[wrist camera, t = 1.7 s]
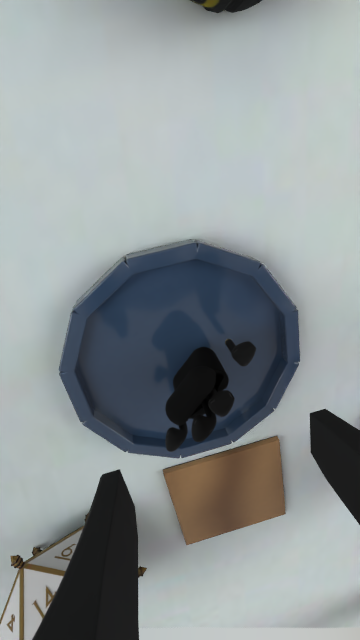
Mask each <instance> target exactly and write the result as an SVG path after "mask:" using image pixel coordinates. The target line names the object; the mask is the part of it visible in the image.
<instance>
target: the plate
mask: <svg viewBox="0 0 360 640" xmlns="http://www.w3.org/2000/svg"><path fill="white" fill-rule="evenodd" d="M227 339H231V340H232V341H233V342H234V344H235V345H236V346H237V345H238V344H240V343H242V342H247V341H250V342H251V343H252V344H253V345H254V346H255V347H256V352H255V355H254V357H253V359H252V360H251V361H250V363H249V364H248V365H247V366H244V367H243V366H240V365H239V364H238V363H237V362H236V361H235V360H234V359H233V357H232V355H231V352H230V351H229V349H228V348H227V346H226V344H225V341H226V340H227ZM200 347H207V348H210V349H211V350H213V351H214V352H215V354H216V355H217V357H218V359H219V361H220V363H221V364H222V366H223V368H224V370H225V372H226V373H227V375H228V378H229V383H228V386H227V388H226V389H224V390H228V391H230V392H231V393H232V395H233V396H234V403H233V406H232V408H231V410H230V412H229V413H228V414H227V415H226V416H224V417H220V416H218V415H216V419H217V422H216V426H215V428H214V430H213V431H212V433H211V434H210V435H209V436H208V437H207V438H206V439H205V440H204V441H202V442H195V441H194V440H193V437H192V432H191V428H192V422H193V419H188V421H187V422H186V424H187V428H188V434H187V437H186V439H185V441H184V442H183V443H182V444H181V445H180V447H179V448H178V449H176V450H175V451H173V452H169V451H168V450H167V449H166V444H165V439H166V433H167V430H168V429H169V428H171V427H174V428H177V429H179V426H178V425H176V424H174V423H173V422H171V421H170V420H169V418H168V417H167V415H166V410H165V407H166V402H167V400H168V399H169V397H170V396H171V395H172V393H173V392H174V391H175V390H174V387H173V379H174V376H175V375H176V373H177V372H178V371H179V369H180V368H181V367H182V366H183V364H184V363H185V362H186V360H187V359H188V358H189V356H190V355H191V354H192V353H193V351H194V350H196V349H197V348H200ZM298 362H300V349H299V325H298V310H296V306H295V305H294V303H293V302H292V301H291V300H290V298H289V297H288V296H287V294H286V293H285V292H284V290H283V289H282V288H281V286H280V285H279V284H278V282H277V281H276V280H275V279H274V277H273V276H272V275H271V273H270V272H269V271H268V269H267V268H266V267H265V265H264V264H262V263H260V262H259V261H258V260H256V259H254V258H252V257H249V256H246V255H243V254H239V253H236V252H233V251H230V250H227V249H224V248H221V247H218V246H215V245H212V244H209V243H205V242H202V241H199V240H194V241H193V240H191V239H190V240H186V241H181V242H177V243H173V244H169V245H165V246H160V247H156V248H152V249H148V250H144V251H140V252H136V253H131V254H127V255H126V259H125V258H124V257H122V258H121V259H120V260H119V261H118V262H117V263H116V264H114V265H113V266H112V267H111V268H110V269H109V270H108V271H107V272H106V273H105V274H104V275H103V276H102V277H101V278H100V279H99V280H98V281H97V282H96V283H95V284H94V285H93V286H92V287H91V288H90V289H89V290H88V291H87V292H86V293H85V294H84V295H83V296H82V297H81V298H79V299H78V300H77V301H76V304H75V305H74V307H73V309H72V312H71V315H70V320H69V325H68V329H67V334H66V338H65V343H64V348H63V352H62V357H61V361H60V366H59V371H60V373H59V375H60V377H61V379H62V382H63V384H64V386H65V388H66V391H67V393H68V395H69V397H70V400H71V402H72V404H73V406H74V408H75V411H76V413H77V415H78V417H79V420H80V422H83V423H82V424H83V425H84V426H86V427H87V428H89V429H90V430H92V431H93V432H95V433H96V434H98V435H100V436H101V437H103V438H104V439H106V440H107V441H109V442H110V443H112V444H113V445H115V446H117V447H118V448H120V449H121V450H123V451H124V452H126V451H128V453H134V454H143V455H153V456H162V457H171V458H180V455H181V457H182V458H184V457H188V456H191V455H195V454H198V453H201V452H205V451H208V450H212V449H215V448H218V447H222V446H225V445H229V444H231V443H232V442H231V441H233V442H235V441H237V440H238V439H239V438H240V437H242V436H243V435H244V434H245V433H247V432H248V431H249V430H250V429H252V428H253V427H254V426H256V425H257V424H258V423H259V422H261V421H262V420H263V419H264V418H266V417H267V416H268V415H269V414H271V413H272V412H273V411H274V409H273V408H275V409H276V408H277V406H278V404H279V402H280V400H281V398H282V396H283V394H284V392H285V390H286V388H287V387H288V385H289V383H290V381H291V379H292V377H293V375H294V373H295V371H296V369H297V367H298V365H299V363H298ZM203 416H205V417H206V414H204V415H203Z"/></svg>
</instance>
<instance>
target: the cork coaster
mask: <svg viewBox="0 0 360 640" xmlns="http://www.w3.org/2000/svg"><path fill="white" fill-rule="evenodd" d="M163 474H164V477H165V480H166V484H167V487H168V490H169V493H170V496H171V499H172V502H173V505H174V508H175V511H176V514H177V517H178V520H179V523H180V526H181V529H182V533H183V536H184V539H185V542H186V545H189V544H192V543H195V542H199V541H202V540H205V539H208V538H211V537H214V536H218V535H221V534H224V533H227V532H230V531H233V530H236V529H240V528H243V527H246V526H249V525H252V524H255V523H259V522H262V521H265V520H268V519H271V518H274V517H278V516H281V515H284V514H286V512H285V501H284V489H283V477H282V466H281V454H280V442H279V439H278V437H277V436H275V437H272V438H268V439H265V440H262V441H258V442H255V443H252V444H248V445H245V446H241V447H238V448H235V449H231V450H228V451H225V452H221V453H218V454H214V455H211V456H208V457H204V458H201V459H198V460H194V461H191V462H187V463H184V464H181V465H177V466H174V467H170V468H167V469H164V470H163Z"/></svg>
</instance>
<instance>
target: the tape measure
mask: <svg viewBox="0 0 360 640" xmlns="http://www.w3.org/2000/svg"><path fill="white" fill-rule="evenodd" d="M191 1H193V2H195V3H197V4H200V5H202V6H203V7H204V8H205V9H206V10H208V11H212V12H216V13H219V12H221V11H223V10H226V11H228V12H232V13H233V12H237V11H242V10H245V9H247V8H250V7H252V6H254V5H256V4H258V3H260V2H261V1H262V0H191Z"/></svg>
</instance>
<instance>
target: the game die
mask: <svg viewBox="0 0 360 640" xmlns="http://www.w3.org/2000/svg"><path fill="white" fill-rule="evenodd" d="M88 514H89V513H88ZM88 514H87V515H85V516H86V519H85V522H86V520H87V517H88ZM83 528H84V526H82V527H81V528H79V529H77V530H76V531H74V532H72V533H71V534H69V535H67V536H66V537H64V538H63V539H61V540H59V541H58V542H56V543H54V544H53V545H51V546H49V547H48V548H46V549H44V550H43V551H42V550H40V547H36V548H35V547H34V548H33V552H32V554H33V557H31V558H30V559H28V560H26V561H25V562H23V559H22V558H21V557H20V556H19V555H17V556H11V562H12V564H11V566H14V568H19V570H18V573H17V576H16V579H15V581H14V584H13V587H12V589H11V592H10V595H9V598H8V600H7V603H6V606H5V608H4V611H3V614H2V617H1V619H0V640H32V639H33V637H34V635H35V633H36V631H37V629H38V627H39V626H40V624H41V622H42V620H43V618H44V616H45V614H46V612H47V610H48V608H49V606H50V604H51V602H52V600H53V598H54V596H55V593H56V591H57V589H58V587H59V585H60V583H61V581H62V578H63V576H64V574H65V571H66V569H67V567H68V564H69V562H70V560H71V558H72V555H73V553H74V551H75V548H76V546H77V543H78V541H79V538H80V535H81V533H82V530H83ZM146 569H147V568H144V567H141V566H140V567H139V568H138V578H139V576H143V574H144V572H145V571H146Z"/></svg>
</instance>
